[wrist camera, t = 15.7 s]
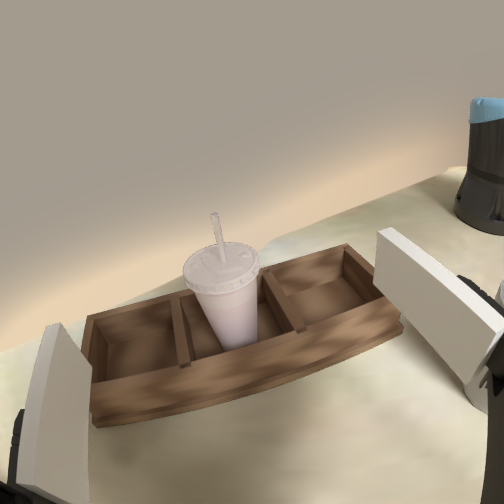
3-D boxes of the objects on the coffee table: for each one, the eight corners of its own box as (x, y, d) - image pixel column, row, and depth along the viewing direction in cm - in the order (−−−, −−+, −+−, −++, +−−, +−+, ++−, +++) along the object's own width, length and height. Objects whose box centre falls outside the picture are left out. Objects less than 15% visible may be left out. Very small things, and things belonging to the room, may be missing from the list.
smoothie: (246, 375, 26) (212, 241, 19) (195, 349, 30) (151, 226, 22) (283, 330, 30) (267, 201, 23) (233, 312, 34) (206, 193, 27)
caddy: (346, 273, 38) (348, 240, 36) (402, 333, 28) (411, 297, 26) (102, 344, 33) (84, 313, 30) (97, 428, 23) (69, 400, 20)
